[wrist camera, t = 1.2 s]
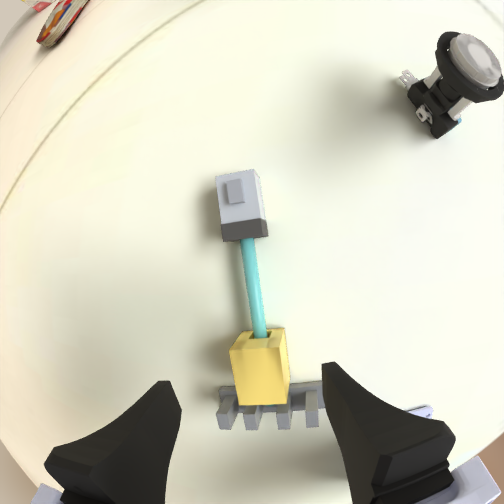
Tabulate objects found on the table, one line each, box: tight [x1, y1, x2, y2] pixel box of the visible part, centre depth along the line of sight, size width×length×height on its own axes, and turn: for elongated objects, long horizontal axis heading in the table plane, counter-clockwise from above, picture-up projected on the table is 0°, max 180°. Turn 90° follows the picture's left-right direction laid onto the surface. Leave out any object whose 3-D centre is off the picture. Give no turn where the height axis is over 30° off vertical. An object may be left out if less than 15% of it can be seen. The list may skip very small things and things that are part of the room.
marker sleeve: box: [229, 328, 290, 405], centre depth 20 cm, size 4×3×4 cm
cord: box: [240, 238, 276, 407], centre depth 21 cm, size 16×1×1 cm, turn 8°
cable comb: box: [216, 381, 325, 430], centre depth 20 cm, size 2×9×4 cm, turn 98°
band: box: [221, 218, 268, 242], centre depth 21 cm, size 1×3×3 cm, turn 98°
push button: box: [399, 32, 504, 139], centre depth 14 cm, size 7×5×10 cm
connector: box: [216, 169, 266, 224], centre depth 20 cm, size 4×3×3 cm
